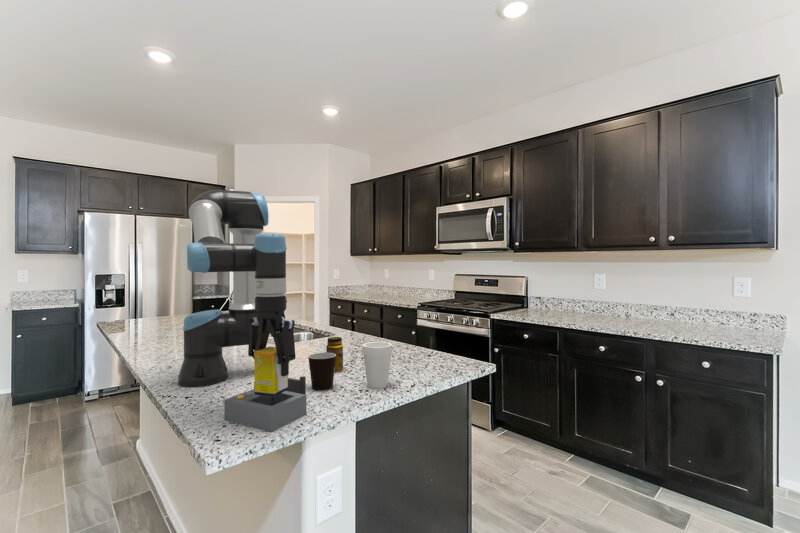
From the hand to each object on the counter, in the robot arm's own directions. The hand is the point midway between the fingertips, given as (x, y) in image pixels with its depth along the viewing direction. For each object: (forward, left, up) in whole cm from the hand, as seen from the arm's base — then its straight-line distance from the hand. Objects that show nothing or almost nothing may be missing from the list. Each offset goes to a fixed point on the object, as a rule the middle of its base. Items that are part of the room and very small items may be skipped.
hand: (271, 386), depth 98 cm
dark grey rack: (-10, +13, -8) cm, 18 cm away
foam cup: (+10, +35, -8) cm, 37 cm away
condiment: (-14, +43, -8) cm, 46 cm away
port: (-2, 0, -8) cm, 8 cm away
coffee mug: (-5, +27, -8) cm, 29 cm away
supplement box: (0, 0, -2) cm, 2 cm away
